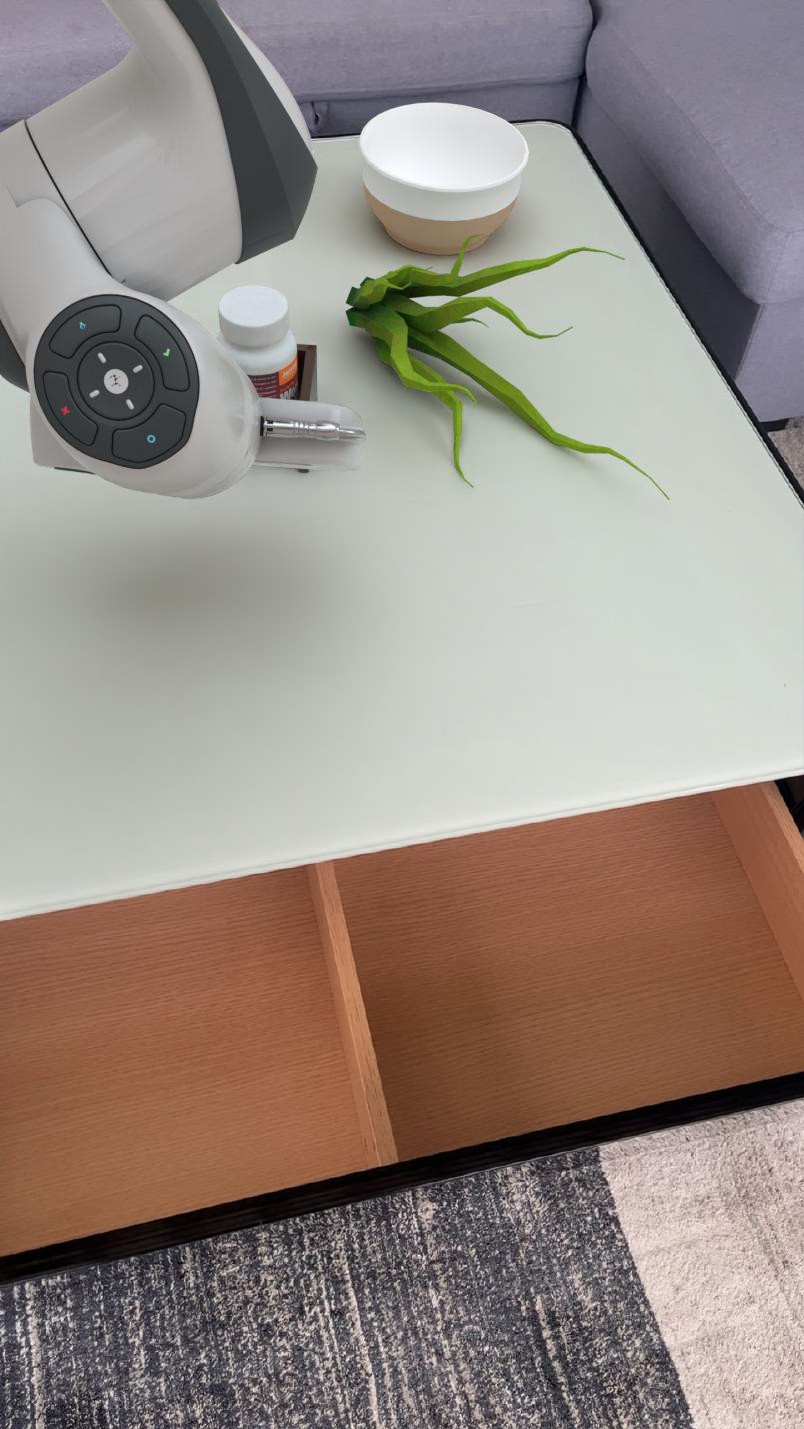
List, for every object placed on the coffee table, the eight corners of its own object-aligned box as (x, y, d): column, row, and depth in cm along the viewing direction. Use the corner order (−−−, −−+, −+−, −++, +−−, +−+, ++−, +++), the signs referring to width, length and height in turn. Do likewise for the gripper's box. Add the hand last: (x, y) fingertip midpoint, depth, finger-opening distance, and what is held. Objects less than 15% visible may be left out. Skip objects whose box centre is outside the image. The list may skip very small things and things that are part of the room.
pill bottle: (298, 454, 85) (294, 332, 76) (221, 452, 85) (208, 329, 76) (300, 404, 89) (297, 281, 80) (226, 402, 88) (214, 279, 79)
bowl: (497, 285, 100) (508, 204, 94) (335, 250, 102) (335, 168, 96) (532, 199, 109) (545, 120, 103) (383, 169, 111) (386, 89, 105)
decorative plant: (449, 562, 80) (470, 403, 67) (338, 326, 95) (339, 162, 83) (664, 517, 83) (720, 359, 71) (523, 298, 99) (550, 137, 87)
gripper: (368, 375, 60) (370, 404, 74) (5, 348, 60) (75, 382, 73) (362, 488, 61) (365, 496, 75) (5, 463, 61) (73, 476, 74)
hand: (219, 440), depth 74 cm, fingers closed
